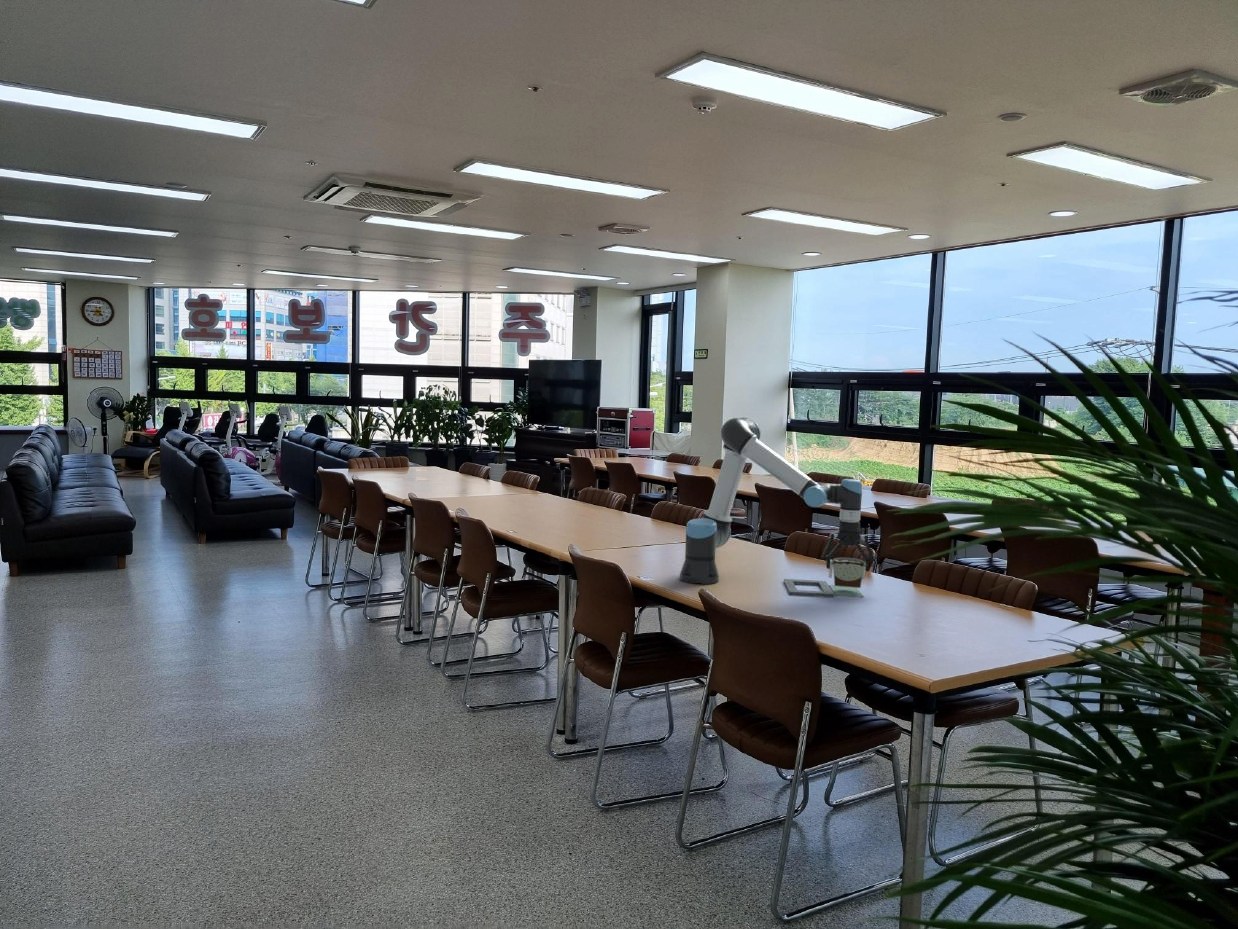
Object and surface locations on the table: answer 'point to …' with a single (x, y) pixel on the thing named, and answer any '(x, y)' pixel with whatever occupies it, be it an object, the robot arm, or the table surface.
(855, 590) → the pad
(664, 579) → the table surface
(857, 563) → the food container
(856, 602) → the table surface
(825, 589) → the grey rectangular frame
